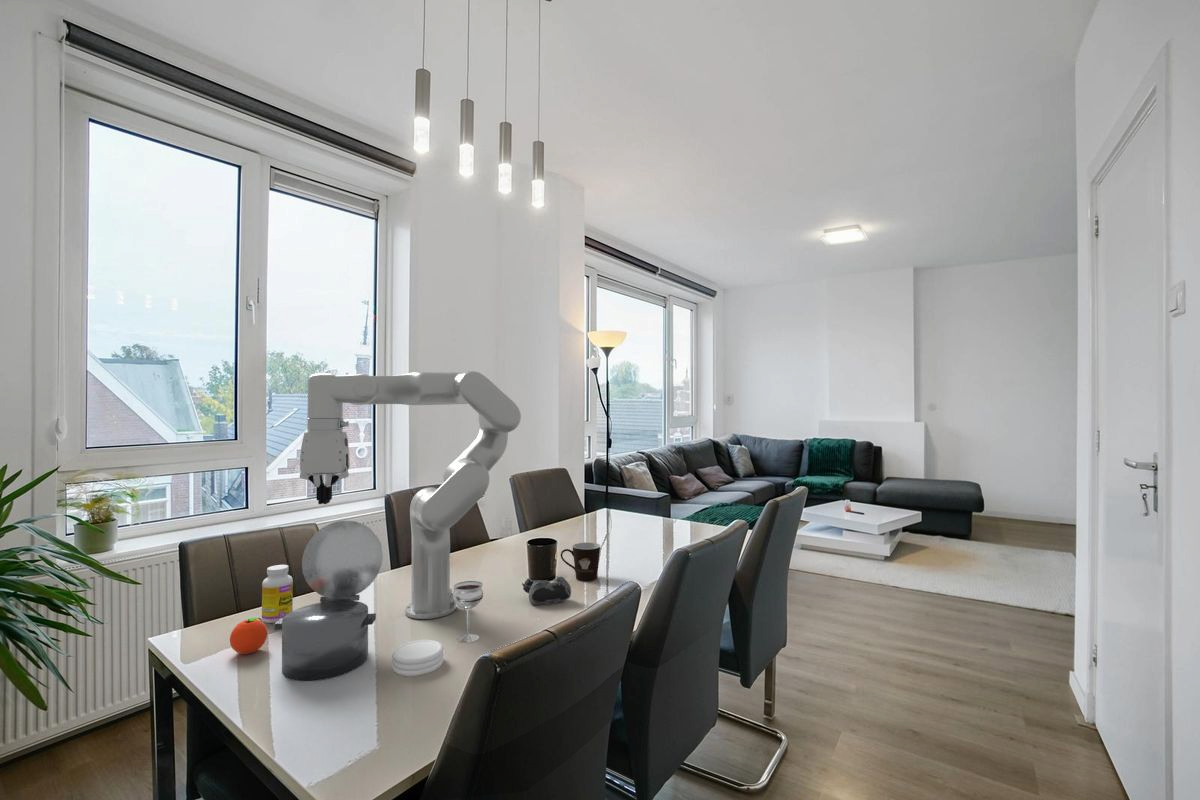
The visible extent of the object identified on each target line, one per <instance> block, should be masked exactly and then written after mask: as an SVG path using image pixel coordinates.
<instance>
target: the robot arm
mask: <svg viewBox="0 0 1200 800" xmlns="http://www.w3.org/2000/svg"><path fill="white" fill-rule="evenodd" d="M343 404H350V405H355V406H364V405H406V406H441V405H444V406H445V405H469V407H471V408H472V409H473V410H474V411H475V412H476V413H478V424H479V431H478V435H477V436H476V438H474V440H473V442H472V443H471V444H470V445H469V446H468V447H467V448H466V449H465V450H464V451H463V452H462V453H461V454H460V455H458V456H457V458H455V460H453V461H452V462H451V463H450V464H449V465H448V466H447V467H446V469H445V470H444V473H443V476H442V477H443V483H442V484H441V485H440V486H439V487H438V488H436V487H424V488H422V489H420V490H419V491H417V492H416V494H414V496H413V497H412V499H411V502H410V506H409V517H410V518H409V520H410V530H411V531H410V532H411V602H410V603H409V604H408V605H407V606H406V607H405V608H404V613H405V615H406V616H407V617H408V618H411V619H417V620H429V619H432V620H433V619H438V618H443V617H445V616H448V615H450V614H452V613H454V611H455V610H456V609H457V604H456V603H455V602H454V600H453V589H452V588H451V578H450V577H451V572H450V571H451V569H450V568H451V558H450V557H451V556H450V555H451V533H450V528H452V527H453V526H454V525H455V524H457V523H458V522H459V521H460V520H461V519H462V518H463V517H464V516H465V515H466V514H467V513H468V512H469V511H470V510H471V508H473V507H474V505H476V504H477V502H478V501H479V500H480V499H481V498H483V495H485V493H486V492H487V490H488V487H489V486H490V485H489V484H490V473H489V472H490V471H491V470H492V469H493V467H494V466H495V465H497V464H498V462H499V460H500V459H501V458H502V457H503V455H504V453H505V451H506V449H507V446H508V439H509V433H510V432H513V431H514V430H516V429H517V428H518V427H519V425H520V423H521V417H522V415H521V411H520V409H519V406H518V405H517V404H516V402H514V401H513V400H512V399H511V398H510V397H509V396H508V395H507V394H505V392H503V391H502V390H501V389H500V388H499V387H498V386H497V385H496V384H494V382H492V381H491V380H490V379H489V378H488V377H487V376H486V375H484V374H483V373H481V372H479V371H474V370H473V371H465V372H463V371H461V372H460V371H459V372H430V371H429V372H427V371H426V372H425V371H423V372H422V371H420V372H410V373H404V374H396V375H368V374H364V373H355V374H343V375H342V374H341V375H339V374H334V373H314V374H311V375H310V376H309V377H308V380H307V421H306V423H307V428H306V430H307V431H304V433H303V437H302V441H301V447H300V456H299V470H300V472H299V478H300V479H303V480H306V481H310V482H311V483H312V484H313V485H314V487H315V488H316V501H318V502H317V503H318V504H317V505H327V504H329V503H330V502H331V500H333V486H334V485H335V484H336V483H337V482H338V481H340V480H342V479H343V480H344V479H347V478H349V477H350V474H349V473H350V472H349V470H350V464H351V463H350V461H351V459H350V449H349V447H350V446H349V439H348V434H347V433H348V432H347V431H343V430H344V428H348V427H349V425H350V424H349V423H350V422H349V420H344V418H343V413H344V412H343V408H344V405H343ZM324 475H326V477H325V483H324Z"/></svg>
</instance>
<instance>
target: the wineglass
mask: <svg viewBox="0 0 1200 800" xmlns="http://www.w3.org/2000/svg"><path fill="white" fill-rule="evenodd" d="M483 586H484V584H483V582H481V581H477V580H466V581H465V580H464V581H460V582H457V583H455V584H453V586H452V587H453V590H454V591H452V593H453V600H454V602H455V603H456V606H458V607H459V608H461V609H464V610H465V613H466V634H465V633H464V634H462V635H459V636H458V637H457V638H456V641H457V642H459V643H464V644H466V643H473V642H476V641H478V640H479V638H480V636H479V634H475V633H470V616H471V615H470V614H471V610H473V608H476V607H477V606H478V605H479V604H480V603H481V601H482V600H483V598H484V590H483V588H482V587H483Z"/></svg>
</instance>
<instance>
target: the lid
mask: <svg viewBox="0 0 1200 800" xmlns="http://www.w3.org/2000/svg"><path fill="white" fill-rule="evenodd" d="M383 554H384V553H383V547H382V543H381V540H380V539H379V537H378V535H377V534H376V532H375V531H374V530H373V529H372V528H370V527H369V526H367V525H365V524H364V523H362V522H358V521H353V520H338V521H335V522H331V523H329V524H327V525H324V527H322V528H320V529H319V530H318V531H317V532H315V533H314V534H313V536H312V537H311V538H310V540H308V542H307V544H306V546H305V548H304V551H303V554H302V557H301V570H302V575H303V577H304V580H305V582H306V584H307V585H308V586H309V587H310V588H311V589H312V590H313V592H314V593H316V594H318V595H320V599H319V603H321V602H327V601H338V600H349V601H358V602H359V601H360V598H361V597H360V593H362V592H363V591H365V590H366V589H368V588H369V587H370V586H371V584H372V583H373V582H374V581H375V580H376V578H377V577H378V575H379V573H380V570H381V567H382V563H383V559H384V558H383V557H384V556H383Z"/></svg>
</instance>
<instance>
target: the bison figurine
mask: <svg viewBox="0 0 1200 800" xmlns="http://www.w3.org/2000/svg"><path fill="white" fill-rule="evenodd" d="M553 581H554V582H550V581H549V580H545V579H544V580H543V579H542V580H539V579H538V580H537V579H536V580H534V579H532V580H531V579H530V578H529V577H527V579H526V580H525V581H524V583H523V582H522V583H521V585H522V586H523V587H522V590H523V591H524V592H525V593H526V594H527V595H528V598H529V604H531V605H533V606H540V605H554V604H557V603H562V602H564V601H566V600H568V599H570V598H571V596H572V588H571V587H572V586H571V585H570V584H569V582H568V581H567V580H566V579H565V577H563V576H556V577H555V578H554V580H553Z"/></svg>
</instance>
